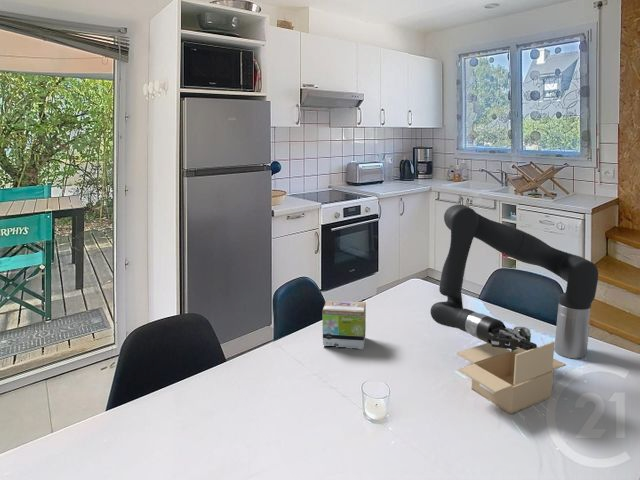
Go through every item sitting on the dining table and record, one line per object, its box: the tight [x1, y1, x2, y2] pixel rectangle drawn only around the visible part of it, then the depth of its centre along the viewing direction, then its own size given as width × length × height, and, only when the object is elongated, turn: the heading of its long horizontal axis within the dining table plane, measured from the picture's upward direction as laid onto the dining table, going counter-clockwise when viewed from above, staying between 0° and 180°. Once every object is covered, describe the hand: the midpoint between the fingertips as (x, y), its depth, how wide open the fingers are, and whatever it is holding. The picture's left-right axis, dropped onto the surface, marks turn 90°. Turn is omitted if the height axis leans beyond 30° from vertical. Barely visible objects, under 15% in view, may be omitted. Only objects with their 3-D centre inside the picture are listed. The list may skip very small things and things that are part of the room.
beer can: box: [510, 326, 532, 352], centre depth 139 cm, size 5×5×12 cm
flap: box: [513, 341, 555, 385], centre depth 116 cm, size 15×1×8 cm, turn 116°
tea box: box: [321, 299, 367, 350], centre depth 158 cm, size 15×10×15 cm, turn 81°
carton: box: [456, 342, 567, 415], centre depth 127 cm, size 28×21×8 cm
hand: (535, 348), depth 115 cm, fingers closed
